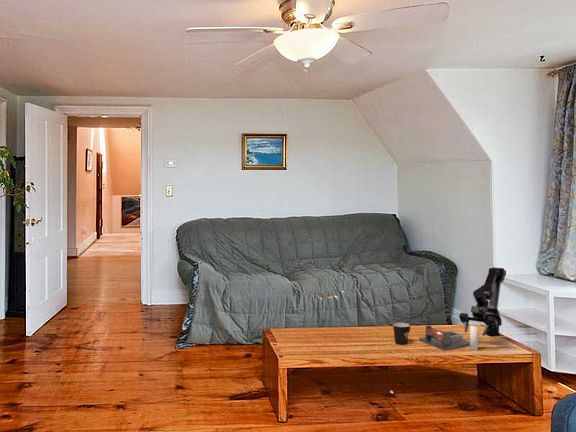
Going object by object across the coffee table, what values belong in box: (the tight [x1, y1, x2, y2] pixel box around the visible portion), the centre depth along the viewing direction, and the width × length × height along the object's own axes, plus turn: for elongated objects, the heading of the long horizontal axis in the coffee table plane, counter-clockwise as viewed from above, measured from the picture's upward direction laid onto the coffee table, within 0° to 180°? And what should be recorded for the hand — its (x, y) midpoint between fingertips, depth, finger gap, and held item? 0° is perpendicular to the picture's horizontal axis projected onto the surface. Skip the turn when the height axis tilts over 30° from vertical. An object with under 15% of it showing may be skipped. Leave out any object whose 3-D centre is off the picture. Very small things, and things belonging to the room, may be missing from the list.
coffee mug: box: [392, 322, 411, 346], centre depth 282 cm, size 12×9×10 cm
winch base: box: [418, 324, 470, 352], centre depth 281 cm, size 20×20×8 cm
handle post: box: [469, 325, 479, 351], centre depth 270 cm, size 4×4×12 cm
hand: (474, 333), depth 270 cm, fingers open, 9 cm apart
